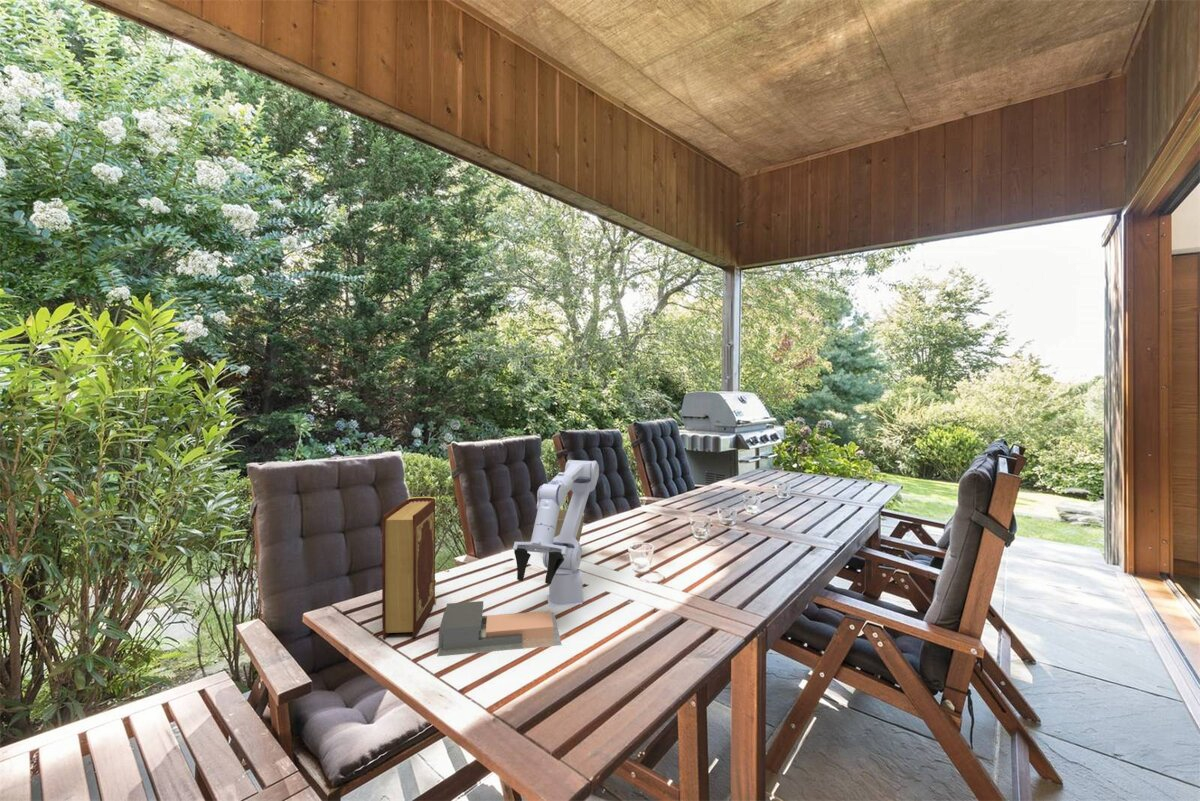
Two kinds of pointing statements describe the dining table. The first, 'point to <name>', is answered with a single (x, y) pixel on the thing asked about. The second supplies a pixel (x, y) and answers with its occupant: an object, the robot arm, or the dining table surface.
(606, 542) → the dining table surface
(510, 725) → the dining table surface
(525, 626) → the peach rectangular panel
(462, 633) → the dock
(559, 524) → the plant pot
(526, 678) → the dining table surface
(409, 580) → the decorative book
